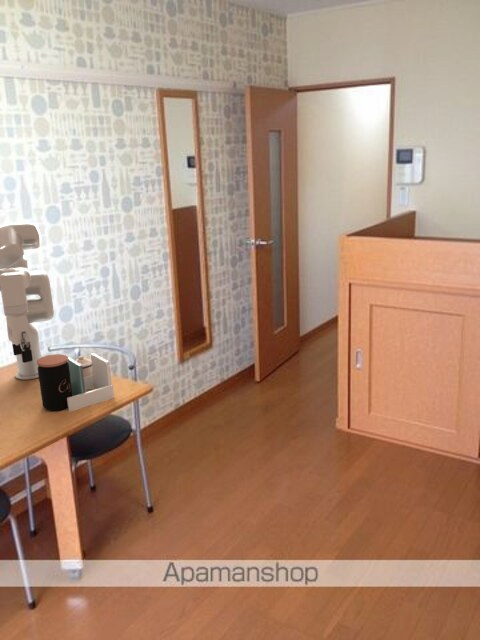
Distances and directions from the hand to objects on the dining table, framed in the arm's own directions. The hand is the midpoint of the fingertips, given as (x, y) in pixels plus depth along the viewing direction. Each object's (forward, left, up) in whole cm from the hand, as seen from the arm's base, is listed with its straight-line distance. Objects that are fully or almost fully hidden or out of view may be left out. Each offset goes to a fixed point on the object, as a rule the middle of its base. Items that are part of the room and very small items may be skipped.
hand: (23, 357), depth 203 cm
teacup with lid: (-15, +26, -22) cm, 37 cm away
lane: (-1, +20, -22) cm, 29 cm away
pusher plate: (-1, +17, -22) cm, 28 cm away
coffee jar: (-1, +10, -22) cm, 24 cm away
